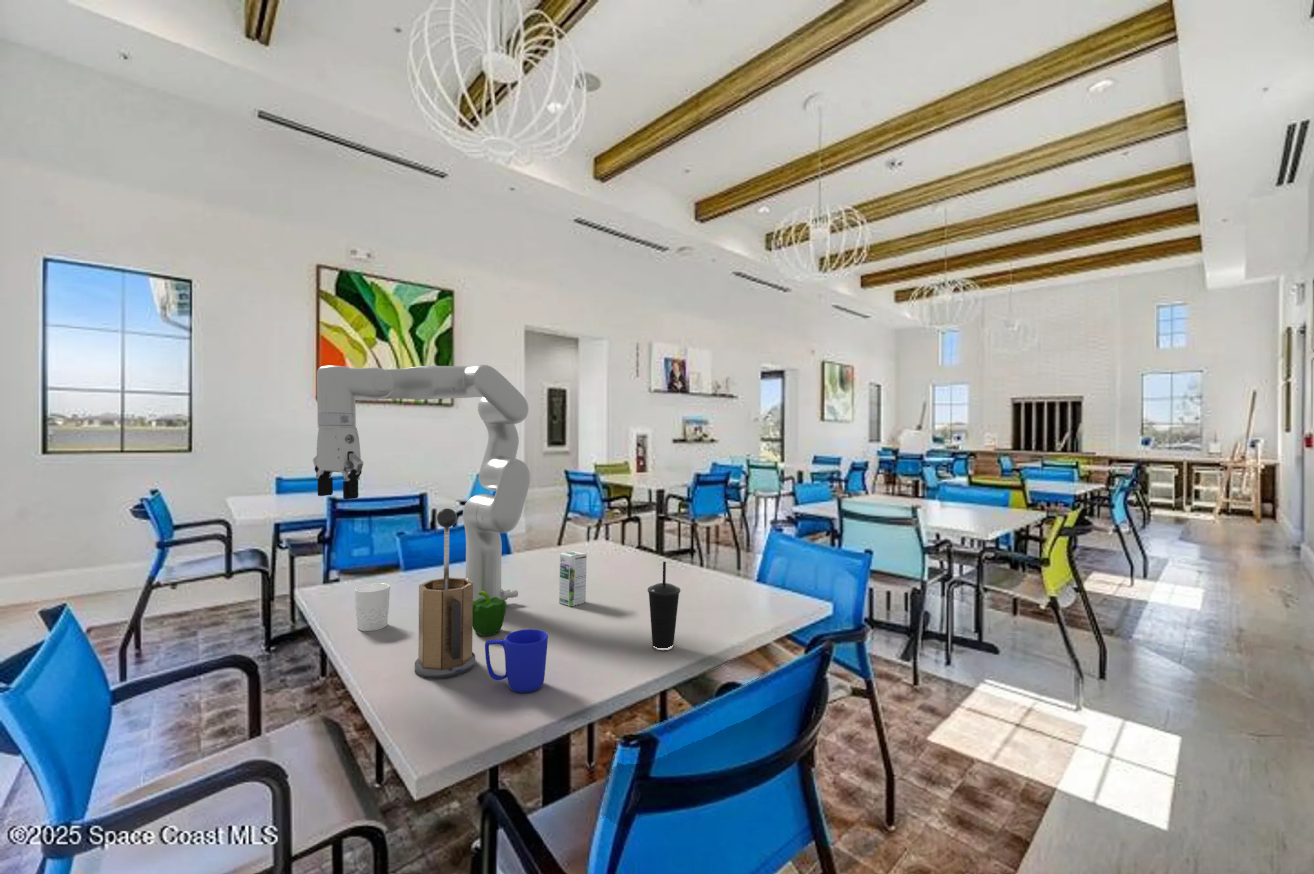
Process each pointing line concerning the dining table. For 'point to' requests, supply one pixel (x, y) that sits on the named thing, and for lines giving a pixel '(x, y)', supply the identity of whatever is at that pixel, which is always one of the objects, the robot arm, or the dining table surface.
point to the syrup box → (572, 578)
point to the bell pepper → (488, 614)
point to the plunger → (446, 538)
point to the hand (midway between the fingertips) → (337, 496)
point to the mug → (522, 659)
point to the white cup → (372, 606)
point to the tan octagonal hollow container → (445, 629)
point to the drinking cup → (663, 612)
